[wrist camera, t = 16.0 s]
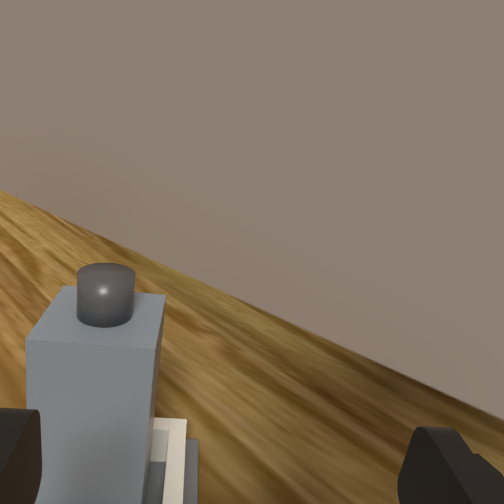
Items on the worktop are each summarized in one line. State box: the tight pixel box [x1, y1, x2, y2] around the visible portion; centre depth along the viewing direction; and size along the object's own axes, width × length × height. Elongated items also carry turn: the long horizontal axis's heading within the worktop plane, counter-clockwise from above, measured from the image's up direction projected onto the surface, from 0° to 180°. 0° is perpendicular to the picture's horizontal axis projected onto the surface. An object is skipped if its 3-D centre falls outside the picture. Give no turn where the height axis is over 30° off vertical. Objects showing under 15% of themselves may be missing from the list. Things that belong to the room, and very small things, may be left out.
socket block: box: [144, 418, 198, 504], centre depth 24 cm, size 11×11×3 cm
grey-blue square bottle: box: [25, 263, 166, 504], centre depth 22 cm, size 5×5×14 cm
